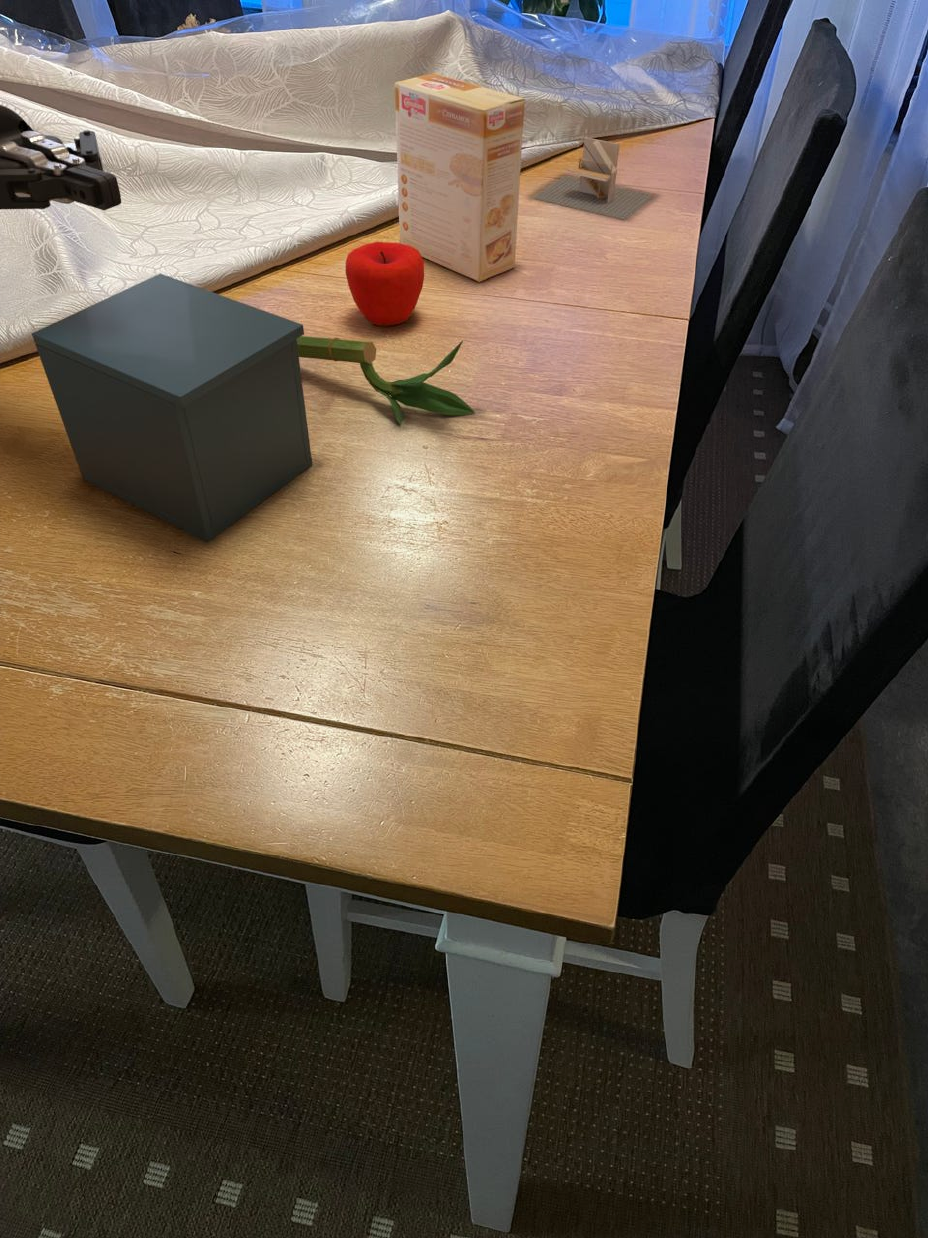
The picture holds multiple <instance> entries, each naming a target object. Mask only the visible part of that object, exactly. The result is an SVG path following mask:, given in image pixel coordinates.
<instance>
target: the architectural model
mask: <svg viewBox="0 0 928 1238" xmlns="http://www.w3.org/2000/svg"><path fill="white" fill-rule="evenodd" d="M583 138H584V139H583V143H582V144H583V147H582V157H579V160H578V163H572V164H570V165H569V166H567V167H565V169H564V170H563V171H564V173H566V174H571V175H574V176H579V178H578V177H572V176H569V175H564V176H562V177H561V178H560V179H558V180H556V181H555V182H554V183H552V184H551V185H548V186H547V187H546V188H545V189H542V191H540V192H538V193H537V194H536V195H534V196H532V198H531V199H535V200H537V201H543V202H547V203H551V204H555V205H560V206H564V207H569V208H572V209H577V210H580V211H585V212H590V213H593V214H598V215H603V216H605V217H606V216H607V217H610V218H615V219H620V220H622V221H623V220H624V221H625V220H626V219H628V218H629V217H630V216H631V215H633V214H634V213H635V212H637V211H638V210H639V209H640V208H641V207H643V206H644V205H645V204H646V203H648V202H649V201H650V200H651V199H653V198H654V197H655V195H653V194H650V193H646V192H641V191H636V190H632V189H629V188H628V189H627V188H624V187H623V188H622V187H619V186H616V180H617V174H618V170H617V169H618V167H617V166H618V161H619V151H620V143H616V142H611V141H607V140H602V139H596V138H592V137H586V136H585V137H583Z"/></svg>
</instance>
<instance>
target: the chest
mask: <svg viewBox="0 0 928 1238" xmlns="http://www.w3.org/2000/svg"><path fill="white" fill-rule="evenodd" d="M34 345H35V348H36V350H37V353H38V356H39V359H40V361H41V365H42V367H43V370H44V373H45V376H46V379H47V382H48V384H49V387H50V390H51V393H52V395H53V398H54V402H55V404H56V407H57V409H58V413H59V415H60V418H61V421H62V424H63V426H64V429H65V433H66V435H67V438H68V440H69V443H70V446H71V449H72V452H73V454H74V458H75V461H76V463H77V466H78V469H79V472H80V474H81V477H82V479H83V480H84V481H86V482H87V483H90V484H91V485H94V486H95V487H98V488H99V489H101V490H103V491H105V492H107V493H110V494H111V495H113V496H115V497H117V498H120V499H122V501H123V500H124V501H125V502H127V503H129V504H131V505H133V506H135V507H137V508H138V509H139V508H140V509H141V510H143V511H145V512H147V513H149V514H151V515H153V516H154V517H157V518H159V519H161V520H162V521H165V522H167V523H169V524H171V525H173V526H175V527H177V528H179V529H181V530H183V531H185V532H186V533H188V534H190V535H193V536H195V537H196V538H199V539H201V540H203V541H205V542H207V543H209V542H210V541H212V540H213V539H214V538H216V537H217V536H218V535H220V534H221V533H223V532H224V531H226V530H227V529H228V528H229V527H230V526H232V525H233V524H234V523H236V522H237V521H239V520H240V519H241V518H243V517H244V516H246V515H247V514H248V513H249V512H251V511H252V510H253V509H255V508H256V507H257V506H260V504H261V503H263V502H264V501H266V500H267V499H268V498H269V497H271V496H272V495H273V494H275V493H276V492H278V491H280V489H282V488H283V487H284V486H286V485H287V484H288V483H290V482H291V481H292V480H294V479H296V478H297V477H298V476H299V475H300V474H302V473H303V472H305V471H306V470H307V469H308V468H311V466H313V458H312V450H311V443H310V435H309V427H308V421H307V420H308V418H307V412H306V403H305V396H304V395H305V394H304V387H303V379H302V372H301V363H300V362H301V361H300V357H299V354H298V347H297V339H295V340H294V341H292V342H290V343H289V344H287V345H285V346H284V347H282V348H280V349H279V350H277V351H275V352H274V353H272V354H270V355H269V356H267V357H265V358H264V359H262V360H260V361H259V362H257V363H255V364H254V365H252V366H250V367H249V368H247V369H245V370H244V371H242V372H240V373H239V374H237V375H235V376H234V377H232V378H230V379H229V380H227V381H225V382H224V383H222V384H220V385H219V386H217V387H215V388H214V389H212V390H210V391H209V392H207V393H205V394H204V395H202V396H200V397H199V398H197V399H195V400H194V401H192V402H190V403H189V404H187V405H185V406H184V407H181V406H179V405H176V404H174V403H172V402H169V401H167V400H165V399H162V398H160V397H158V396H155V395H153V394H151V393H149V392H146V391H144V390H142V389H139V388H137V387H135V386H132V385H130V384H128V383H125V382H123V381H121V380H119V379H116V378H114V377H112V376H109V375H107V374H105V373H102V372H100V371H98V370H95V369H93V368H91V367H89V366H86V365H84V364H82V363H79V362H77V361H75V360H72V359H70V358H68V357H66V356H63V355H61V354H59V353H56V352H54V351H52V350H49V349H47V348H45V347H42V346H40V345H38V344H36V343H34Z"/></svg>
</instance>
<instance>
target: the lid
mask: <svg viewBox="0 0 928 1238" xmlns="http://www.w3.org/2000/svg"><path fill="white" fill-rule="evenodd" d="M31 336H32V340H33V342H34V344H38V345H40V346H42V347H45V348H47V349H49V350H52V351H54V352H56V353H59V354H61V355H63V356H66V357H68V358H70V359H72V360H75V361H77V362H79V363H82V364H84V365H86V366H89V367H91V368H93V369H95V370H98V371H100V372H102V373H105V374H107V375H109V376H112V377H114V378H116V379H119V380H121V381H123V382H125V383H128V384H130V385H132V386H135V387H137V388H139V389H142V390H144V391H146V392H149V393H151V394H153V395H155V396H158V397H160V398H162V399H165V400H167V401H169V402H172V403H174V404H176V405H179V406H181V407H184V406H185V405H187V404H189V403H190V402H192V401H194V400H195V399H197V398H199V397H200V396H202V395H204V394H205V393H207V392H209V391H210V390H212V389H214V388H215V387H217V386H219V385H220V384H222V383H224V382H225V381H227V380H229V379H230V378H232V377H234V376H235V375H237V374H239V373H240V372H242V371H244V370H245V369H247V368H249V367H250V366H252V365H254V364H255V363H257V362H259V361H260V360H262V359H264V358H265V357H267V356H269V355H270V354H272V353H274V352H275V351H277V350H279V349H280V348H282V347H284V346H285V345H287V344H289V343H290V342H292V341H294V340H295V339H297V338H299V337H300V336H305V329H304V324H302V323H299V322H297V321H294V320H291V319H288V318H285V317H283V316H280V315H278V314H274V313H271V312H269V311H267V310H263V309H260V308H257V307H255V306H252V305H250V304H247V303H244V302H241V301H238V300H235V299H233V298H230V297H227V296H224V295H221V294H219V293H215V292H213V291H210V290H207V289H204V288H202V287H199V286H197V285H194V284H191V283H188V282H185V281H182V280H179V279H178V278H177V279H176V278H174V277H172V276H169V275H166V274H163V273H159V274H156V275H154V276H152V277H149V278H147V279H146V280H143V281H140V282H139V283H137V284H135V285H133V286H130V287H128V288H126V289H124V290H122V291H120V292H118V293H116V294H113V295H110V296H109V297H107V298H105V299H102V300H101V301H98V302H96V303H94V304H91V305H89V306H87V307H85V308H83V309H81V310H79V311H77V312H75V313H72V314H70V315H68V316H66V317H64V318H62V319H60V320H58V321H55V322H52V323H51V324H49V325H47V326H45V327H43V328H40V329H38V330H36V331H33V332H31Z"/></svg>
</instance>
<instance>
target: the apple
mask: <svg viewBox="0 0 928 1238" xmlns="http://www.w3.org/2000/svg"><path fill="white" fill-rule="evenodd" d="M344 271H345V277H346V281H347V286H348V289H349V292H350V295H351V297H352V300H353V302H354V303H355V305H356V308H357V309H358V310H359V312H360V313H361V314H362V316H363V317H364V318H365V319H366V320H367V321H369V322H370V323H372V324H373V325H377V326H386V327H388V326H396V325H398V324H402V323H403V322H406V321H408V320H409V318H410V316H411V315H412V314H413V311H414V310H415V309H416V307H417V304H418V301H419V298H420V295H421V292H422V289H423V287H424V280H425V261H424V259H423V257H422V256H421V255H420V253H419V251H418V250H417V249H415V248H414V247H412V246H409V245H405V244H400V242H391V241H389V242H387V241H374V242H370V243H366V244H362V245H360V246H359V247H356V248H354V249H352V250H351V251H349V253H348V254H347V257H346V259H345V269H344Z"/></svg>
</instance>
